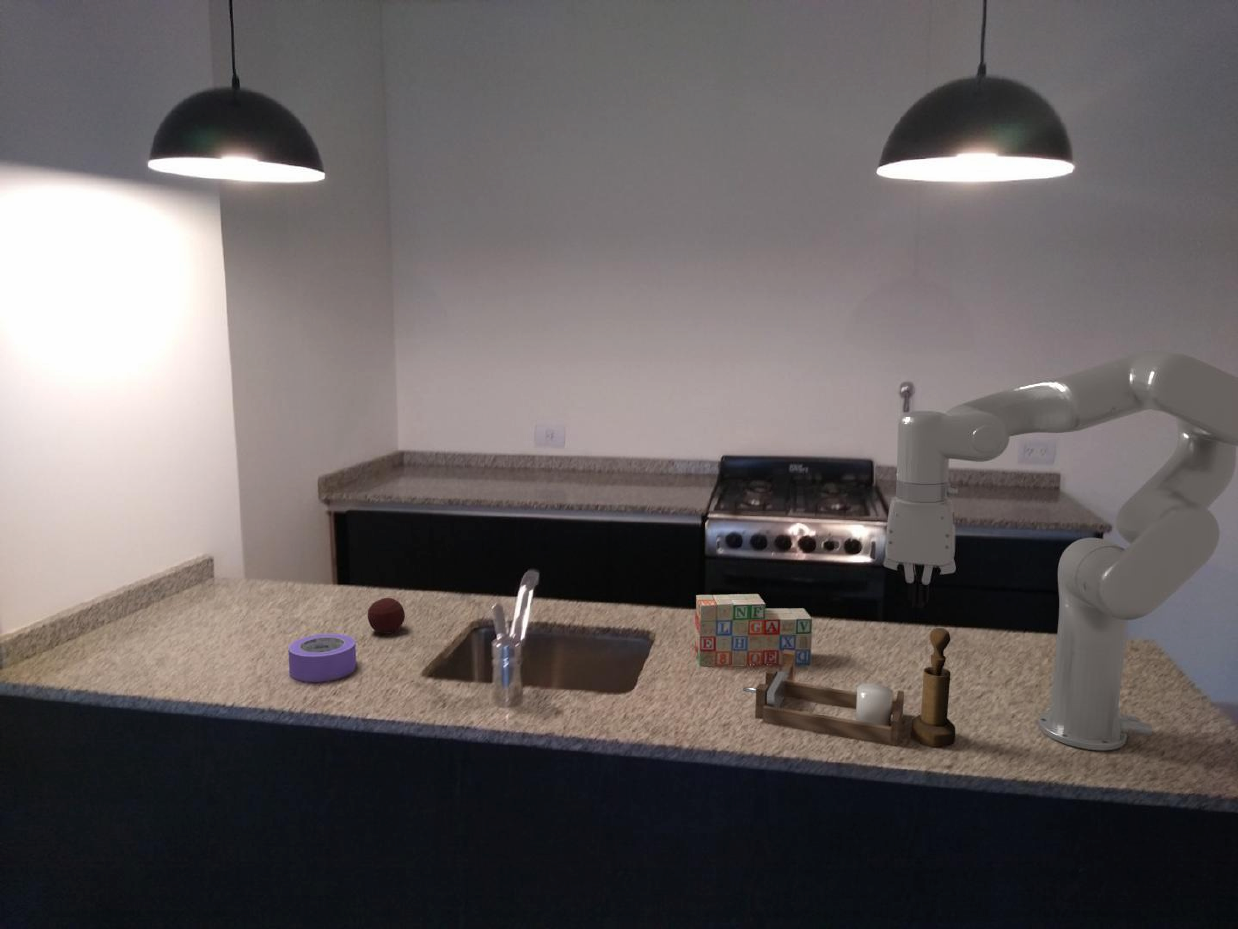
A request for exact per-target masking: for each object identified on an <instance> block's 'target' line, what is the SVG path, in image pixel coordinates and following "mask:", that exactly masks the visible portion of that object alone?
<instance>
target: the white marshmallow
mask: <svg viewBox="0 0 1238 929" xmlns="http://www.w3.org/2000/svg"><path fill="white" fill-rule="evenodd" d="M856 690H857V704H856V709H855V721H860V722H866V723H872V724H877V725H883V726H889V727H891V723H892V715H891V713H892V698H893V695H894V692H893V690H892V689H891V688H890V687H889V686H886V685H884V684H880V683H879V684H878V683H869V682H868V683H867V682H866V683H863V684H862V683H861V684H860V685H858V686H857V689H856Z"/></svg>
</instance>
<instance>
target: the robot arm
mask: <svg viewBox="0 0 1238 929" xmlns="http://www.w3.org/2000/svg"><path fill="white" fill-rule="evenodd" d="M1146 410H1152V411H1157V412H1162V413H1166V414H1168V415H1170V416H1172V417H1174V418H1176V424H1177V442H1176V445H1175V449H1174V451H1173V453H1172V455H1171V456H1170V457H1169V458H1168V460H1167V461H1166V462H1165V463H1164V464H1163V465H1162V466H1161V468H1159V469H1158V470H1157V471H1156V472H1155V474H1153V475H1152V476H1151V477H1149V479H1148V480H1147V481H1146V482H1145V483H1144V484H1143V485H1142V486H1141V487H1140V488H1139V489H1137V491H1136V492H1134V493H1133V494H1132V495H1131V496H1130V497H1129V498H1128V499H1127V500H1126V501H1125V502H1124V503H1123V504H1122V505H1121V506H1120V507H1119V509H1118V511H1117V513H1116V515H1115V524H1114V525H1115V529H1116V531H1117V533H1118V534H1119V535H1120V537H1121V538H1122V539H1124V541H1126V542H1128V543H1129V545H1128V546H1126V548H1124V547H1121V546H1119V545H1118V544H1115V542H1111V541H1110V540H1107V539H1104V538H1097V537H1085V538H1081V539H1077V540H1076V541H1074V542H1072V543H1071V544H1070V545H1068V546H1067V547H1066V548H1065V549H1064V551H1063V552H1062V554H1061V556H1060V558H1059V562H1058V568H1057V583H1058V584H1057V587H1058V598H1059V599H1058V600H1059V608H1058V609H1059V610H1058V624H1057V633H1056V634H1057V635H1056V644H1055V654H1054V665H1053V674H1052V685H1051V686H1052V687H1051V693H1050V694H1051V696H1050V706H1049V710H1044V711H1043V712H1041V713H1040V714H1039V715H1038V717H1037V718H1038V719H1037V725H1038V727H1039V729H1040V731H1041V732H1042V733H1043V734H1045V735H1046V736H1047V737H1049V738H1051V739H1053V740H1055V741H1057V742H1060V743H1061V744H1064V745H1067V746H1071V747H1075V748H1078V749H1084V750H1091V751H1110V750H1111V751H1112V750H1117V749H1120V748H1122V747H1123V746H1125V744H1126V743H1127V737H1128V735H1127V734H1128V733H1133V734H1134V733H1135V734H1136V735H1143V736H1149V737H1150V736H1151V735H1152V730H1153V729H1152V727H1153V726H1152V723H1151V722H1144V721H1140V719H1141V718H1140V716H1136V715H1135V716H1133V715H1126V714H1123V712H1121V710H1120V708H1119V704H1120V695H1121V688H1122V687H1121V686H1122V685H1121V684H1122V676H1123V666H1124V659H1125V650H1126V646H1127V645H1126V644H1127V633H1128V628H1127V627H1128V624H1127V623H1128V622H1127V621H1136V620H1138V619H1142V618H1143V617H1145V616H1148V615H1150V614H1151V613H1153V612H1154V611H1155V610H1157V609H1158V608H1160V607H1161V606H1162V605H1163V604H1164V603H1165V602H1166V601H1167V600H1168V599H1169V598H1171V596H1172V595H1174V594H1175V593H1176V592H1177V591H1178V590H1179V589H1180V588H1182V586H1184V584H1185V583H1187V582H1188V581H1189V580H1190V579H1191V578H1192V577H1193V576H1194V575H1196V573H1197V572H1199V571H1200V569H1202V567H1204V566H1205V565H1206V563H1207V562H1208V561H1210V559H1211V557H1212V556H1213V555H1214V553H1215V551H1216V549H1217V546H1218V545H1219V540H1220V526H1219V523H1218V520H1217V518H1216V517H1215V515H1214V514H1213V513H1212V512H1211V511H1210V510H1209V507H1210V506H1212V504H1214V502H1215V501H1216V500H1217V499H1218V498H1219V497H1220V496H1221V495H1222V494H1223V493H1224V491H1225V490H1226V489H1227V488H1228V487H1229V484H1230V483H1231V482H1232V479H1233V478H1234V474H1235V470H1236V464H1237V463H1236V462H1237V447H1238V376H1236V375H1233V374H1232V373H1230V372H1226V371H1225V370H1222V369H1220V368H1218V367H1216V366H1213V365H1211V364H1209V363H1207V362H1205V361H1202V360H1200V359H1199V358H1195V357H1193V356H1190V355H1187V354H1182V353H1177V352H1165V351H1158V350H1146V351H1140V352H1135V353H1133V354H1132V353H1131V354H1129V355H1125V356H1122V357H1120V358H1117V359H1113V360H1110V361H1108V362H1103V363H1101V364H1098V365H1094V366H1092V367H1089V368H1086V369H1083V370H1079V371H1075V372H1073V373H1069V374H1067V375H1063V376H1060V377H1056V378H1053V379H1048V380H1043V381H1038V382H1036V383H1030V384H1027V385H1024V386H1019V387H1015V388H1009V389H1006V390H1002V391H998V392H995V393H991V394H988V395H985V396H981V397H978V398H974V399H972V400H969V401H966V402H963V403H961V404H958V405H955V406H953V407H952V408H951V407H950V408H949V409H948V410H947V411H945V413H944V412H942V411H941V412H939V411H933V410H917V411H916V410H914V411H908V412H907V411H906V412H904V413H902V414H901V416H900V417H899V419H898V424H897V425H898V426H897V458H896V486H895V487H896V488H895V490H896V492H895V496H893V497H892V498H891V500H890V504H889V509H888V514H887V515H888V516H887V523H886V530H885V531H886V535H885V545H884V547H885V548H884V552H885V553H884V554H885V556H884V559H883V564H882V565H883V566H884V567H885V568H888V569H891V570H894V571H897V572H898V573H899V574H900V575H901V576H902V577H903V578H904V579H905V581H906V583H907V601H908V602H909V601H910V602H911V609H916V608H917V609H920V610H922V609H923V607H924V605H925V604H924V603H927V604H928V603H929V594H930V592H929V590H930V588H929V587H930V585H929V584H930V583H931V582H932V581H933V580H935V579H936V578H937V577H938V576H939V575H947V574H953V573H955V572H956V568H957V567H956V562H955V559H954V558H955V552H956V517H955V508H954V503H953V500H952V499H948V498H950V496H953V495H954V496H957V495H958V491H959V488H958V487H959V486H958V485H953V484H951V483H950V482H949V464H950V460H960V461H968V462H976V463H977V462H978V463H983V462H989V461H992V460H995V459H997V458H998V457H1000V456H1001V455H1003V453H1004V452H1005V451H1006V450H1007V448H1008V446H1009V443H1010V438H1011V437H1015V436H1019V435H1023V434H1024V435H1026V434H1035V433H1038V434H1039V433H1041V434H1042V433H1044V434H1049V433H1050V434H1063V433H1073V432H1079V431H1082V430H1086V429H1088V428H1091V427H1095V426H1098V425H1102V424H1104V423H1108V422H1111V421H1113V420H1117V419H1120V418H1124V417H1126V416H1129V415H1133V414H1136V413H1137V414H1138V413H1140V412H1142V411H1146ZM915 565H917V566H918V565H919V566H924V568H923V572H922V575H921V576H920V579H918V575H917V574H916V567H915Z"/></svg>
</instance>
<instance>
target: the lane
mask: <svg viewBox="0 0 1238 929" xmlns="http://www.w3.org/2000/svg"><path fill="white" fill-rule="evenodd" d="M777 673H778V668H774V667H768V668H767V670H766V672H765V683H759V684H758V686H757V687H755V688H756V693H755V712H754V713H755V714H754V718H757V719H760V720H762V723H765V724H771V725H776V726H781V727H782V726H783V727H788V728H793V729H800V730H805V731H811V732H817V733H822V734H827V735H833V736H834V735H835V736H839V737H844V738H850V739H857V740H862V741H867V742H872V743H879V744H883V745H889V746H894V747H895V746H896V747H897V745H898V741H899V736H900V733H901V732H900V730H901V727H902V726H901V725H902V721H903V714H904V699H905V691H904V690H897V693H896V694H897V695H896V698H893V697H892V713H891V727H889V726H883V725H877V724H872V723H866V722H860V721H856V720H853V719H848V718H847V719H846V718H841V717H835V716H829V715H823V714H817V713H811V712H806V711H800V710H796V709H795V710H794V709H788V708H782V707H779V708H778V707H772V706H767V691H768V689H769V688H770V686H771V684H772V682H773V681H774V679H775V677H776V675H777ZM784 698H788V699H795V700H800V701H805V702H813V703H818V704H823V705H824V704H825V705H831V706H835V707H843V708H849V709H855V710H856V704H857V692H856V691H851V690H849V691H848V690H843V689H836V688H831V687H823V686H819V685H813V684H804V683H800V682H795V681H794V682H788V681H785V696H784Z"/></svg>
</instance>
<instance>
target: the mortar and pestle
mask: <svg viewBox="0 0 1238 929" xmlns="http://www.w3.org/2000/svg"><path fill="white" fill-rule="evenodd" d="M929 640H930V643H931V646H932V648H933V653H932V654H931V655H930V663H931V666H928V667H925V668H924V669H923V677H922V678H923V679H922V680H923V681H922V682H923V683H922V697H921V706H920V707H921V709H920V710H921V711H920V714H917V716H915V717H913V718H912V720H911V726H910V735H911V738H912V739H913V740H914V741H915V742H917V743H919V744H921V745H922V746H923V745H924V746H927V747H931V748H948V747H951V746H953V745H954V743H956V742H955V741H956V725H955V724H954V723H953V722H951V720H950V719H949V718H948V713H949V712H948V711H949V699H950V698H949V697H950V684H951V674H952V673H951V671H950V670H949V669H947V668H944V666H945V663H946V659H947V658H946V656H945V655H944V654H945V653H944V651H945V649H946V648H947V647H948V645H949V644H950V642H951V635H950V633H949V631H948V630H947V629H945V628H941V627H935V628H934V629H932V630H931V631H930V634H929Z"/></svg>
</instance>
